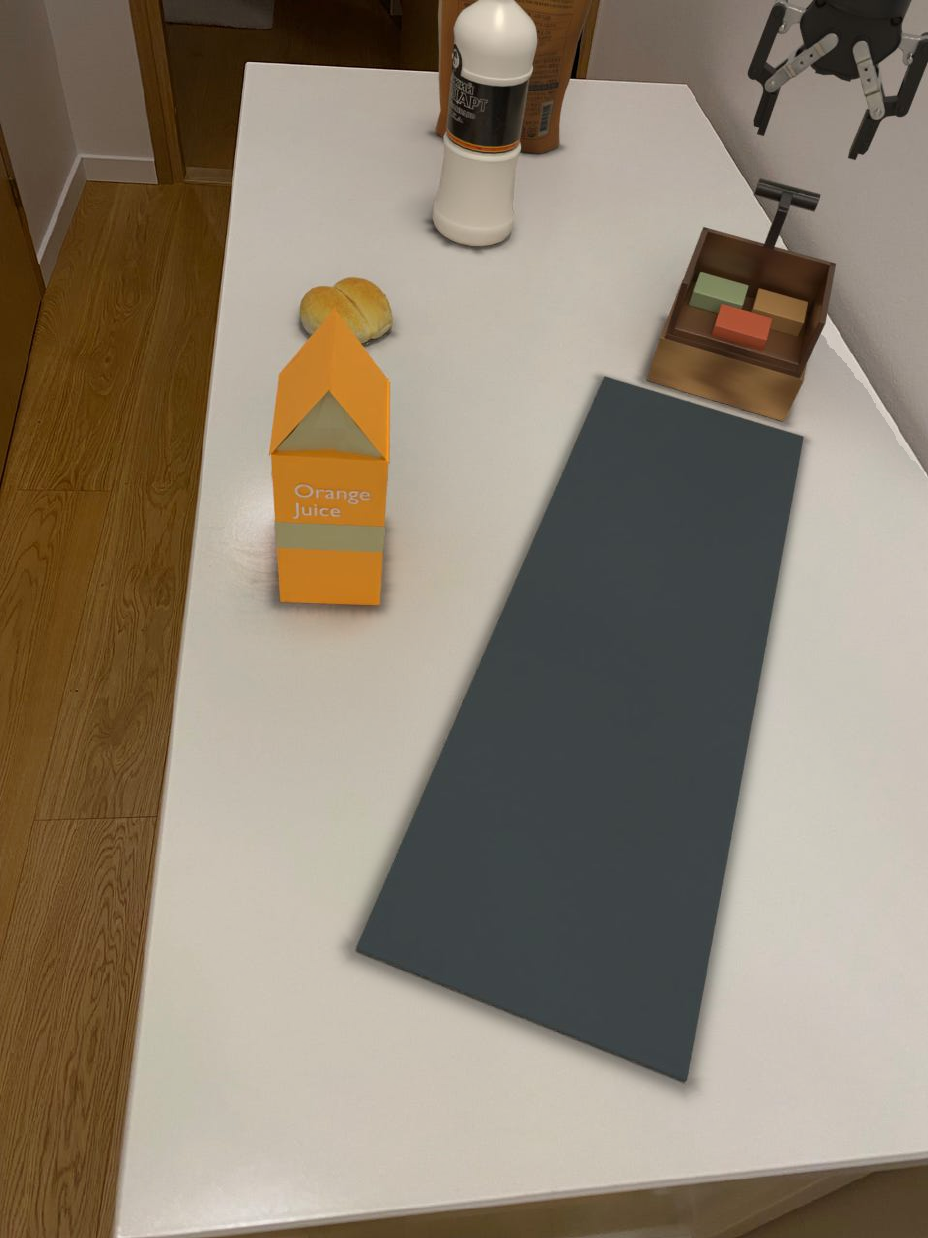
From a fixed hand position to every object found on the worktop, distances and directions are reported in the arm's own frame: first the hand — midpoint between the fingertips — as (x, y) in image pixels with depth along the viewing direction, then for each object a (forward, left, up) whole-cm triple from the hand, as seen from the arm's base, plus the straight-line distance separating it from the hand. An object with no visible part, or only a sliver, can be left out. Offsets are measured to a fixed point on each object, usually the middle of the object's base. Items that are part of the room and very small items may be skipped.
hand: (806, 143), depth 88 cm
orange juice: (+25, +50, -20) cm, 59 cm away
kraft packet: (-3, +7, -14) cm, 16 cm away
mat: (+1, +47, -19) cm, 51 cm away
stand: (0, +9, -19) cm, 21 cm away
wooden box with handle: (0, +7, -14) cm, 16 cm away
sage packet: (+3, +7, -14) cm, 16 cm away
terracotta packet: (0, +11, -14) cm, 18 cm away
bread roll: (+37, +20, -20) cm, 46 cm away
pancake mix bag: (+36, -26, -20) cm, 48 cm away
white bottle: (+32, -4, -20) cm, 38 cm away
